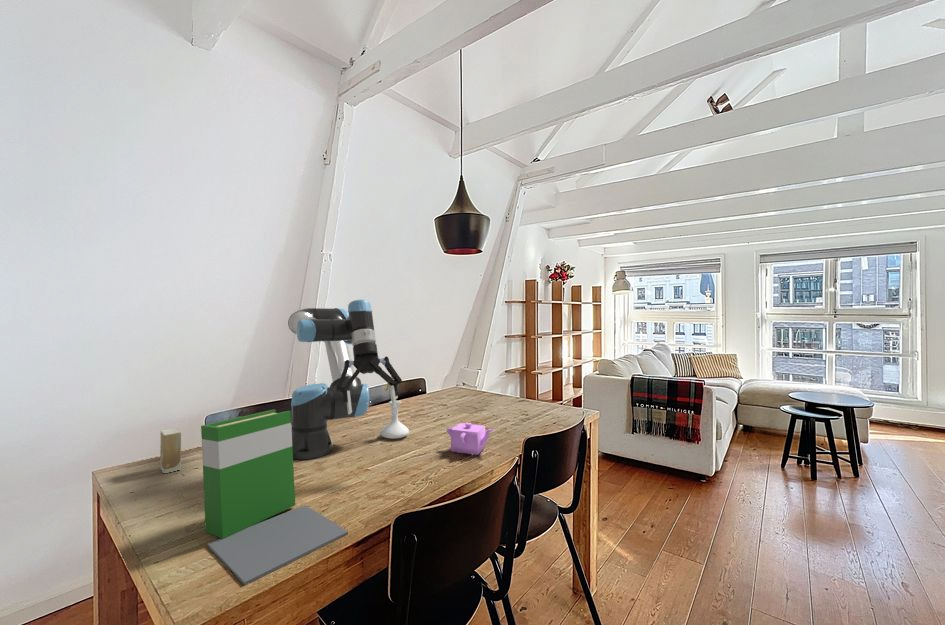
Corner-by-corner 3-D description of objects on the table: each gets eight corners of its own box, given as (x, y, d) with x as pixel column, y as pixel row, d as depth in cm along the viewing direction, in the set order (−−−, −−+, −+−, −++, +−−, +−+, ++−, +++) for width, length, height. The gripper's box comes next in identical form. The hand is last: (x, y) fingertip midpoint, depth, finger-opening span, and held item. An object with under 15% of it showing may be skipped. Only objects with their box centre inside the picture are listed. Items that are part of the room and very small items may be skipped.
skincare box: (159, 469, 126) (159, 430, 126) (176, 465, 129) (176, 427, 129) (163, 475, 122) (164, 434, 122) (181, 470, 125) (181, 431, 125)
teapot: (498, 448, 148) (499, 421, 147) (488, 462, 134) (488, 432, 134) (453, 443, 153) (453, 416, 153) (438, 455, 140) (438, 426, 140)
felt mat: (207, 546, 86) (207, 543, 86) (305, 507, 103) (305, 504, 103) (244, 585, 74) (244, 582, 74) (348, 534, 91) (348, 531, 91)
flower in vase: (386, 431, 166) (386, 371, 166) (412, 432, 165) (413, 372, 165) (374, 441, 154) (374, 376, 153) (402, 443, 152) (403, 377, 152)
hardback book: (278, 500, 107) (273, 409, 107) (295, 505, 103) (290, 410, 104) (205, 531, 92) (201, 425, 92) (222, 538, 88) (217, 428, 89)
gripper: (325, 343, 122) (331, 413, 114) (404, 338, 133) (415, 401, 126) (322, 352, 128) (328, 418, 120) (398, 346, 140) (408, 407, 132)
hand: (372, 410), depth 123 cm, fingers open, 13 cm apart
